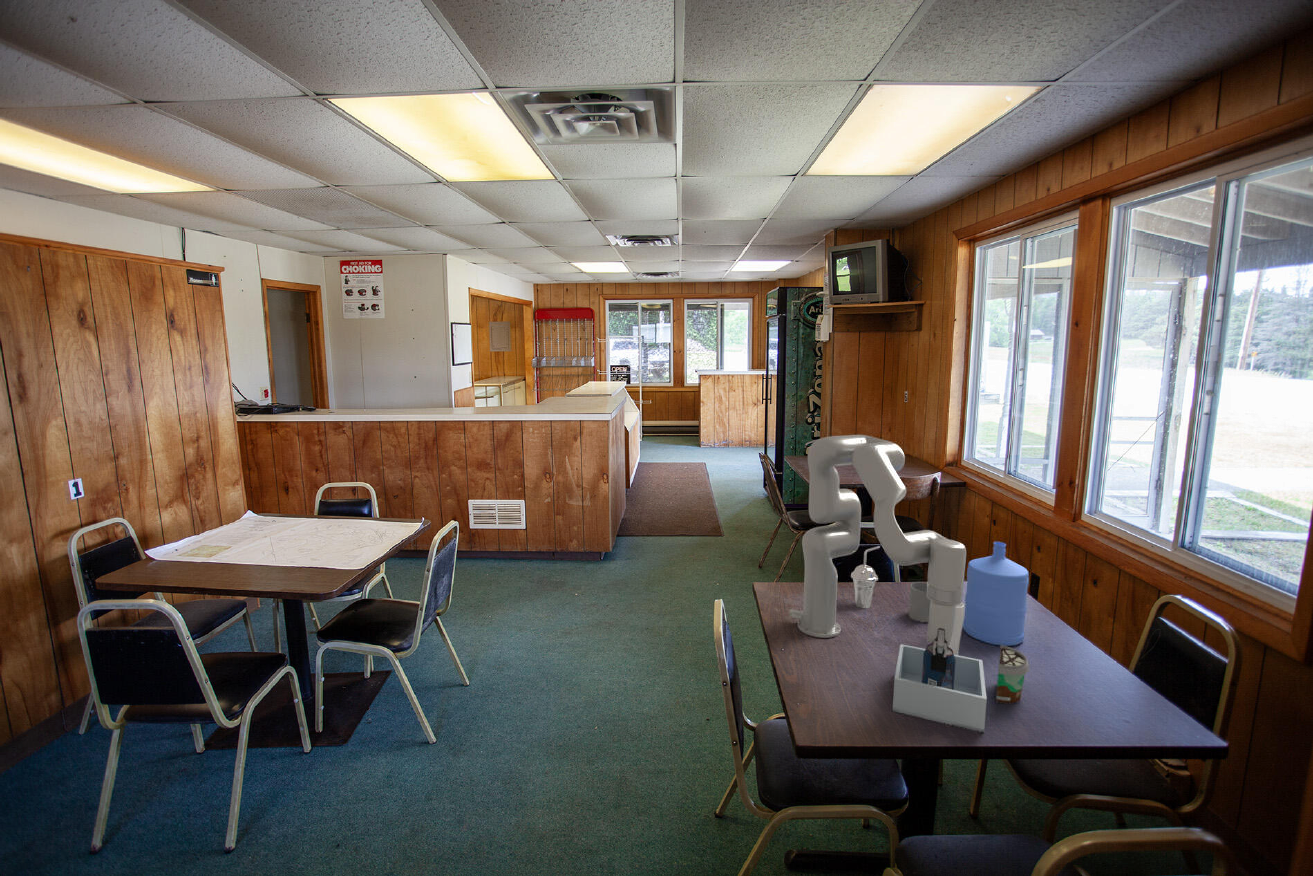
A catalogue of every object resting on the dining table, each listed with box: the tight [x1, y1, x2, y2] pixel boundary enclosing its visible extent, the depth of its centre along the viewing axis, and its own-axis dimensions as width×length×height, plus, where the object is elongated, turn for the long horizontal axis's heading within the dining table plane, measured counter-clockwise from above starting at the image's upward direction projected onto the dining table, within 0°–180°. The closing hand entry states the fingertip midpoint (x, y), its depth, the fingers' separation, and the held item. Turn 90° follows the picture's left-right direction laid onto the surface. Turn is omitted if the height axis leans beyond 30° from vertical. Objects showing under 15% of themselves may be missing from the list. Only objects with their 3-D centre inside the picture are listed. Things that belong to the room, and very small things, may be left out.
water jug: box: [962, 541, 1030, 647], centre depth 173 cm, size 16×16×28 cm
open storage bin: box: [892, 643, 987, 732], centre depth 140 cm, size 19×19×8 cm
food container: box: [995, 645, 1030, 704], centre depth 142 cm, size 12×6×10 cm, turn 148°
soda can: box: [922, 643, 956, 690], centre depth 140 cm, size 7×7×12 cm
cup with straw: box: [850, 545, 881, 609], centre depth 194 cm, size 8×9×20 cm
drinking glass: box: [947, 602, 965, 655], centre depth 162 cm, size 7×7×15 cm
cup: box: [908, 581, 931, 623], centre depth 186 cm, size 8×8×10 cm
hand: (938, 661), depth 140 cm, fingers open, 9 cm apart
